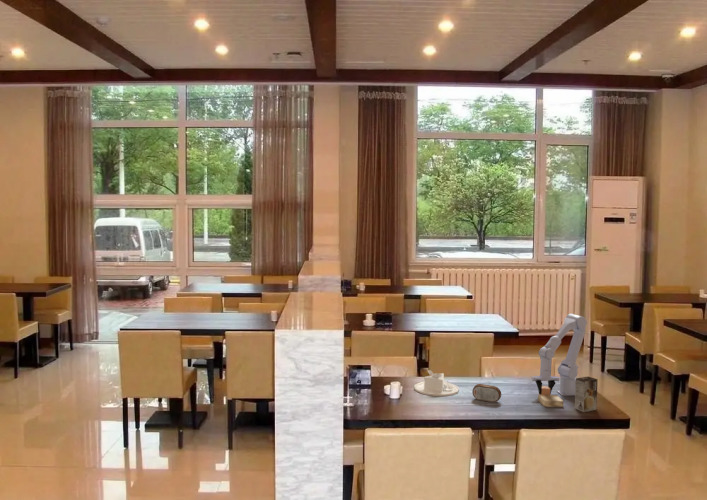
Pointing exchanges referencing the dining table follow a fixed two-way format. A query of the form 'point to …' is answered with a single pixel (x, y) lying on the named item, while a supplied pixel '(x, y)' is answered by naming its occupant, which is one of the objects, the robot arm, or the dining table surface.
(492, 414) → the dining table surface
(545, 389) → the block
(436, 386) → the dish
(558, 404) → the riser
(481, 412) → the dining table surface
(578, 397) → the coffee box
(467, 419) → the dining table surface
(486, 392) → the tin
